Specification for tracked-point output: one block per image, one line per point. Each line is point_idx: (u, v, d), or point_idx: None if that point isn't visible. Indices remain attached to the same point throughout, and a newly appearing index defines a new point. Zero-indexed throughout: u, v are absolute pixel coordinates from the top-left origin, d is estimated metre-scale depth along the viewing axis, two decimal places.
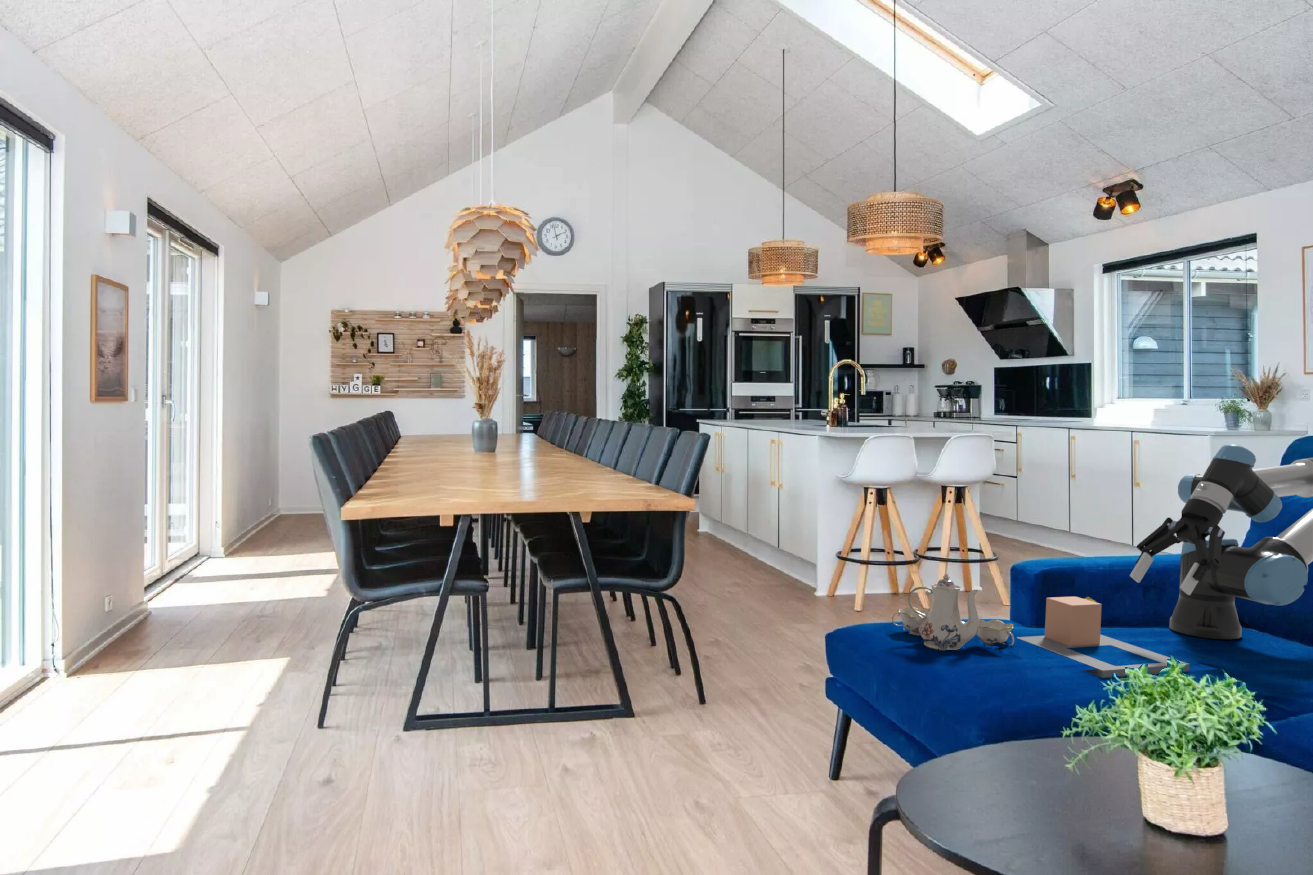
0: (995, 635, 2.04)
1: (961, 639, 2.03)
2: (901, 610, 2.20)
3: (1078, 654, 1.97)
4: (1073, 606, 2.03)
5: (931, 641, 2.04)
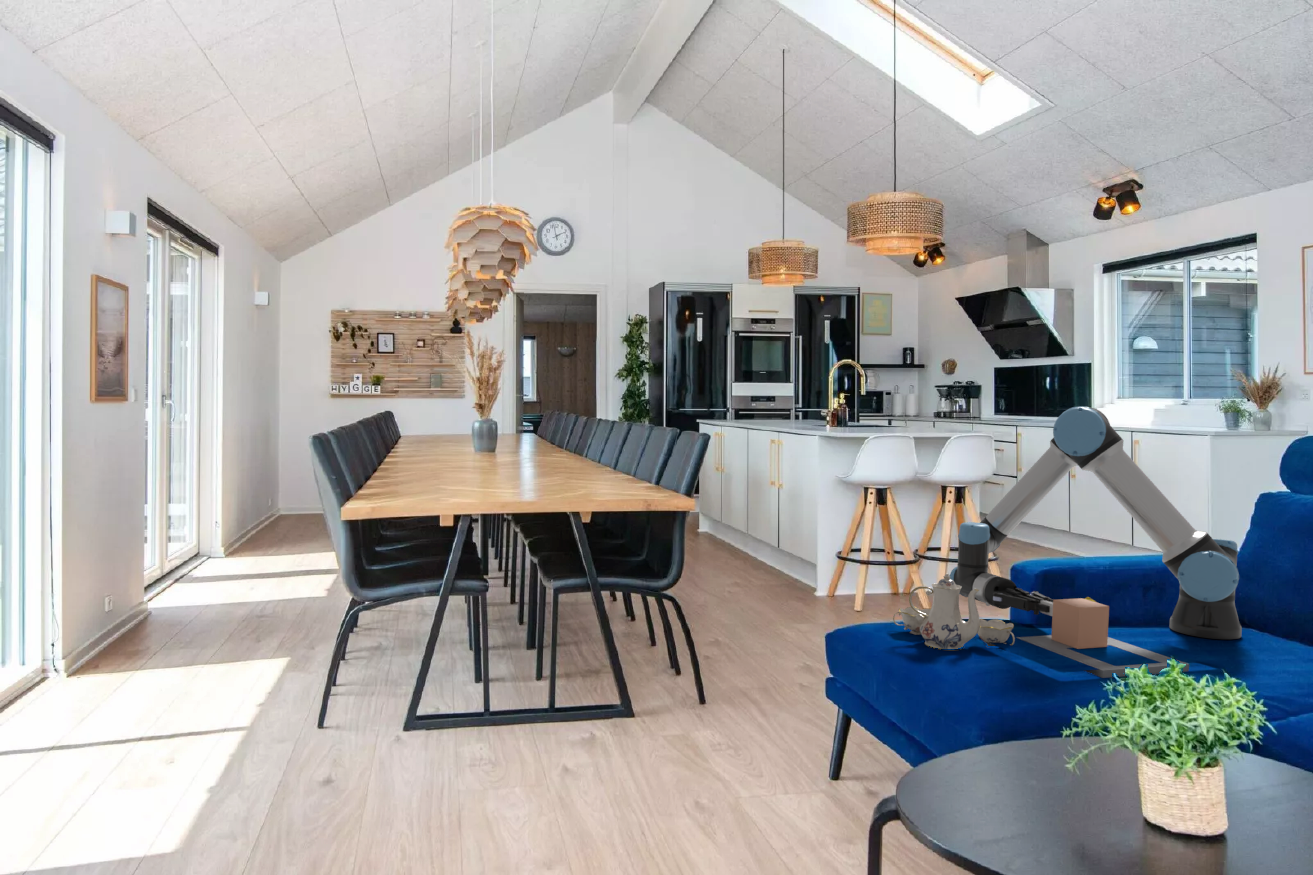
0: (995, 635, 2.04)
1: (962, 638, 2.03)
2: (902, 610, 2.20)
3: (1078, 654, 1.97)
4: (1081, 608, 2.01)
5: (932, 640, 2.05)
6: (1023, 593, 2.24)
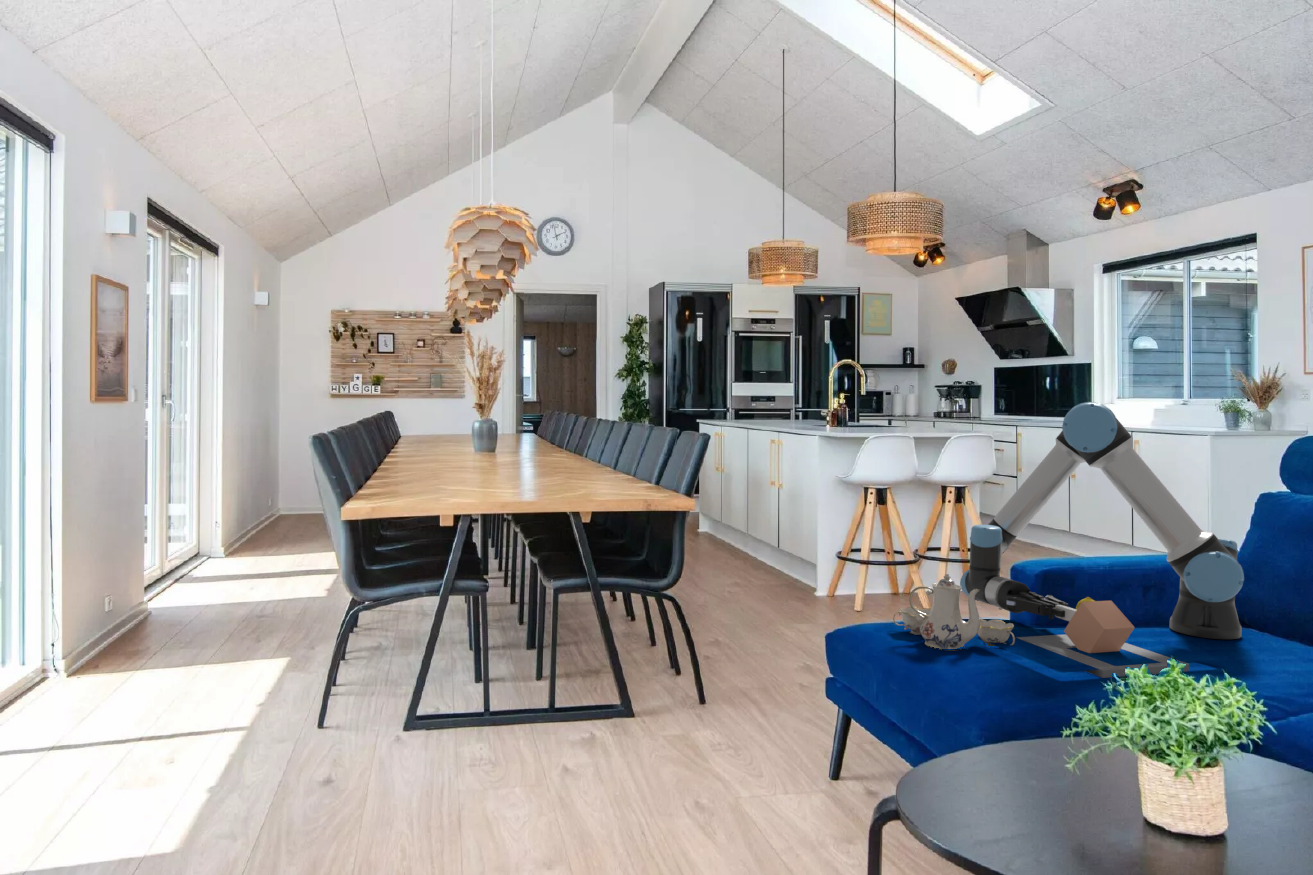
0: (995, 635, 2.04)
1: (962, 638, 2.03)
2: (902, 610, 2.20)
3: (1078, 654, 1.97)
4: (1105, 630, 1.95)
5: (932, 641, 2.05)
6: (1037, 597, 2.19)
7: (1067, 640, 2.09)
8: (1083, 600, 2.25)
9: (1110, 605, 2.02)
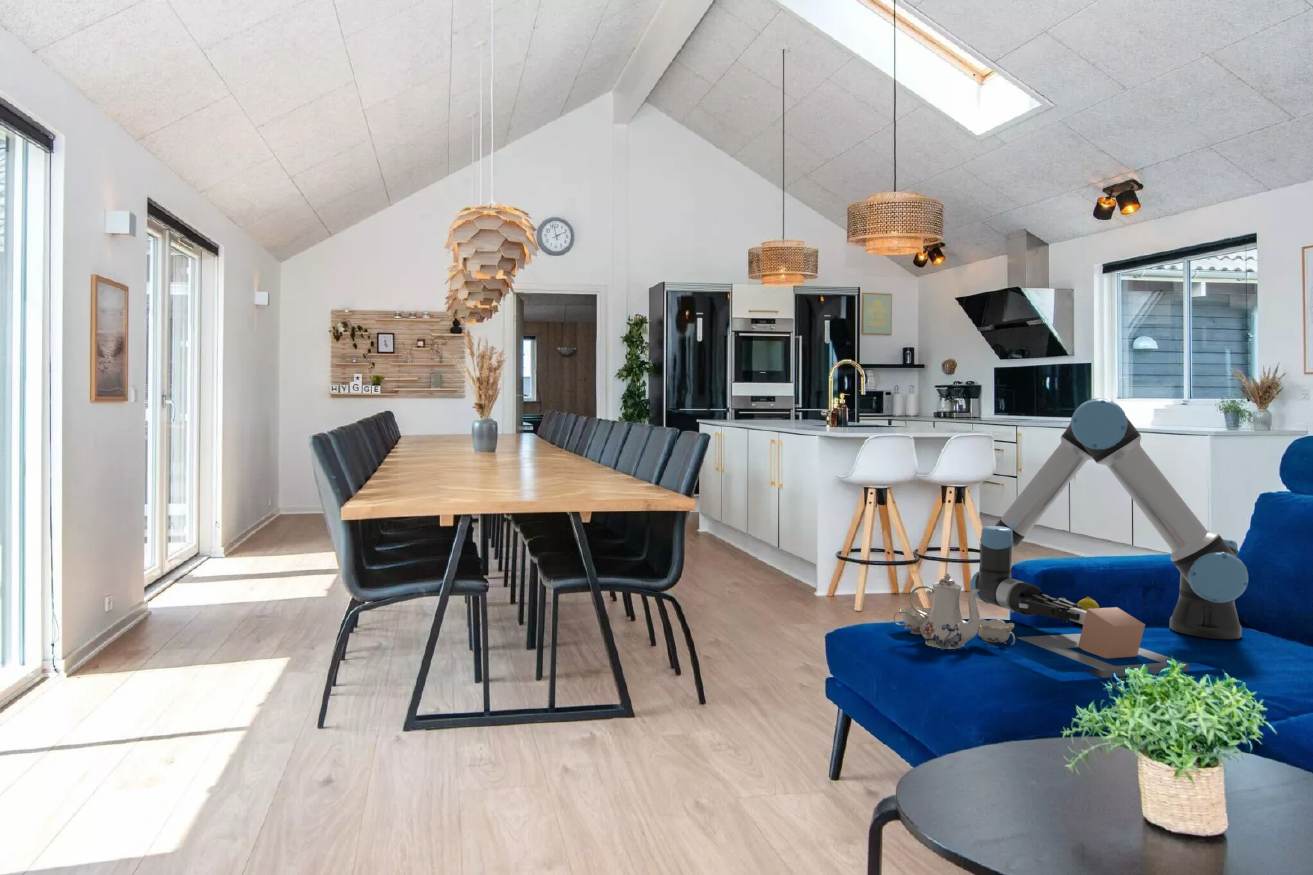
0: (996, 635, 2.05)
1: (962, 638, 2.04)
2: (903, 609, 2.21)
3: (1078, 654, 1.97)
4: (1115, 627, 1.93)
5: (932, 640, 2.05)
6: (1050, 600, 2.16)
7: (1067, 640, 2.09)
8: (1083, 600, 2.25)
9: (1117, 610, 2.01)
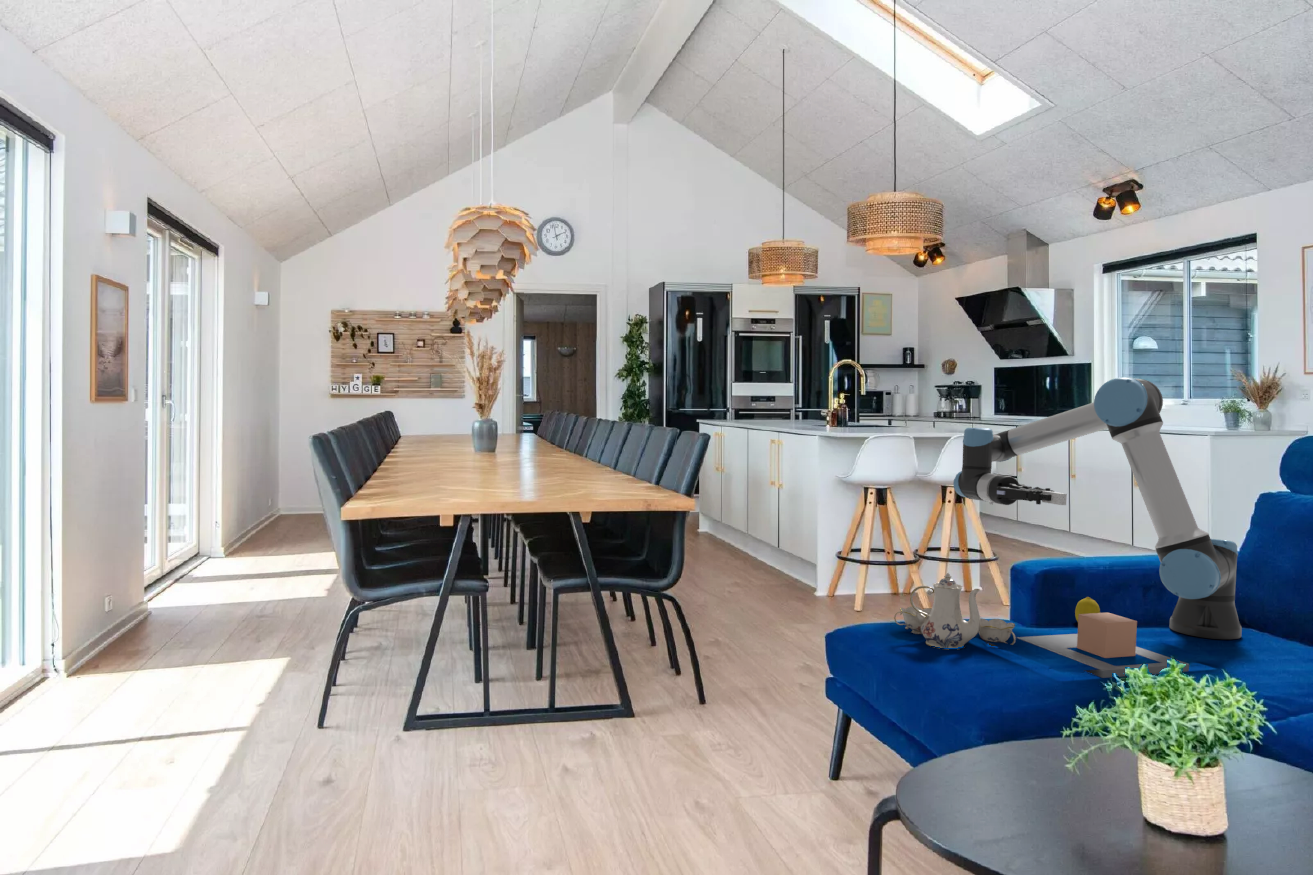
0: (996, 635, 2.05)
1: (963, 637, 2.04)
2: (903, 609, 2.21)
3: (1078, 654, 1.97)
4: (1108, 623, 1.95)
5: (933, 640, 2.05)
6: (1025, 487, 2.34)
7: (1067, 640, 2.09)
8: (1083, 600, 2.25)
9: (1108, 614, 2.03)
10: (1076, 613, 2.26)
